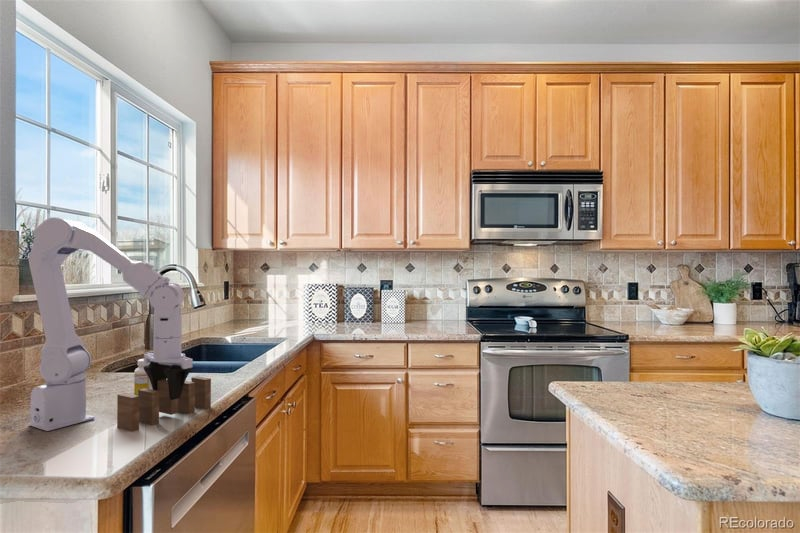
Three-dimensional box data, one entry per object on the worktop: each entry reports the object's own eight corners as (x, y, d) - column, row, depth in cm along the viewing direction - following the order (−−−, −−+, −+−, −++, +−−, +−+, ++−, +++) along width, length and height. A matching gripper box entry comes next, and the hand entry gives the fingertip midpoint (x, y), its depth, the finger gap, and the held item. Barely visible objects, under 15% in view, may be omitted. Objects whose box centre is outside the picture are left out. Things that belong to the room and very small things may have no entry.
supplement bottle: (152, 392, 128) (152, 356, 128) (161, 396, 125) (161, 359, 125) (130, 397, 124) (130, 359, 124) (139, 400, 121) (139, 362, 121)
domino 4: (188, 414, 110) (188, 383, 110) (174, 411, 112) (174, 381, 112) (194, 412, 111) (194, 382, 111) (180, 409, 114) (180, 379, 114)
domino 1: (131, 431, 98) (131, 397, 98) (117, 427, 100) (117, 394, 100) (139, 429, 99) (139, 396, 99) (124, 425, 102) (124, 392, 102)
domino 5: (205, 409, 114) (205, 379, 114) (191, 406, 116) (191, 377, 116) (210, 407, 115) (210, 378, 115) (196, 404, 118) (197, 376, 118)
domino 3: (171, 414, 106) (171, 383, 106) (157, 411, 108) (157, 380, 108) (177, 413, 107) (177, 381, 107) (163, 409, 110) (163, 379, 110)
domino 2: (152, 425, 102) (152, 392, 102) (137, 421, 104) (138, 389, 104) (159, 423, 103) (159, 391, 103) (144, 419, 106) (145, 388, 106)
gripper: (204, 337, 108) (203, 397, 108) (163, 332, 115) (163, 389, 115) (176, 341, 102) (176, 405, 102) (135, 336, 109) (134, 395, 109)
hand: (167, 397), depth 108 cm, fingers closed on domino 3, 5 cm apart
